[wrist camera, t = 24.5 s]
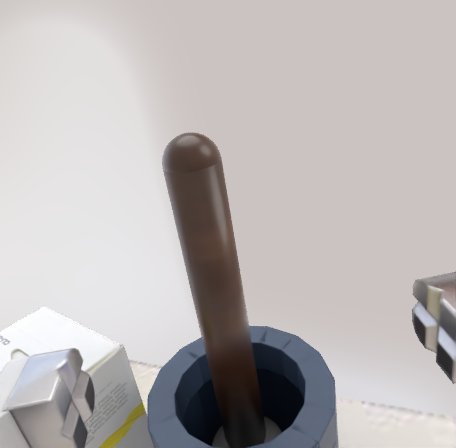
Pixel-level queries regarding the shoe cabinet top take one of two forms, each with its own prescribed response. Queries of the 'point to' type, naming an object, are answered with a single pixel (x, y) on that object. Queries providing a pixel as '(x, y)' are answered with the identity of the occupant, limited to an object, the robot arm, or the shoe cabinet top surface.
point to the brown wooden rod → (216, 287)
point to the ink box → (95, 366)
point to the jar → (269, 391)
